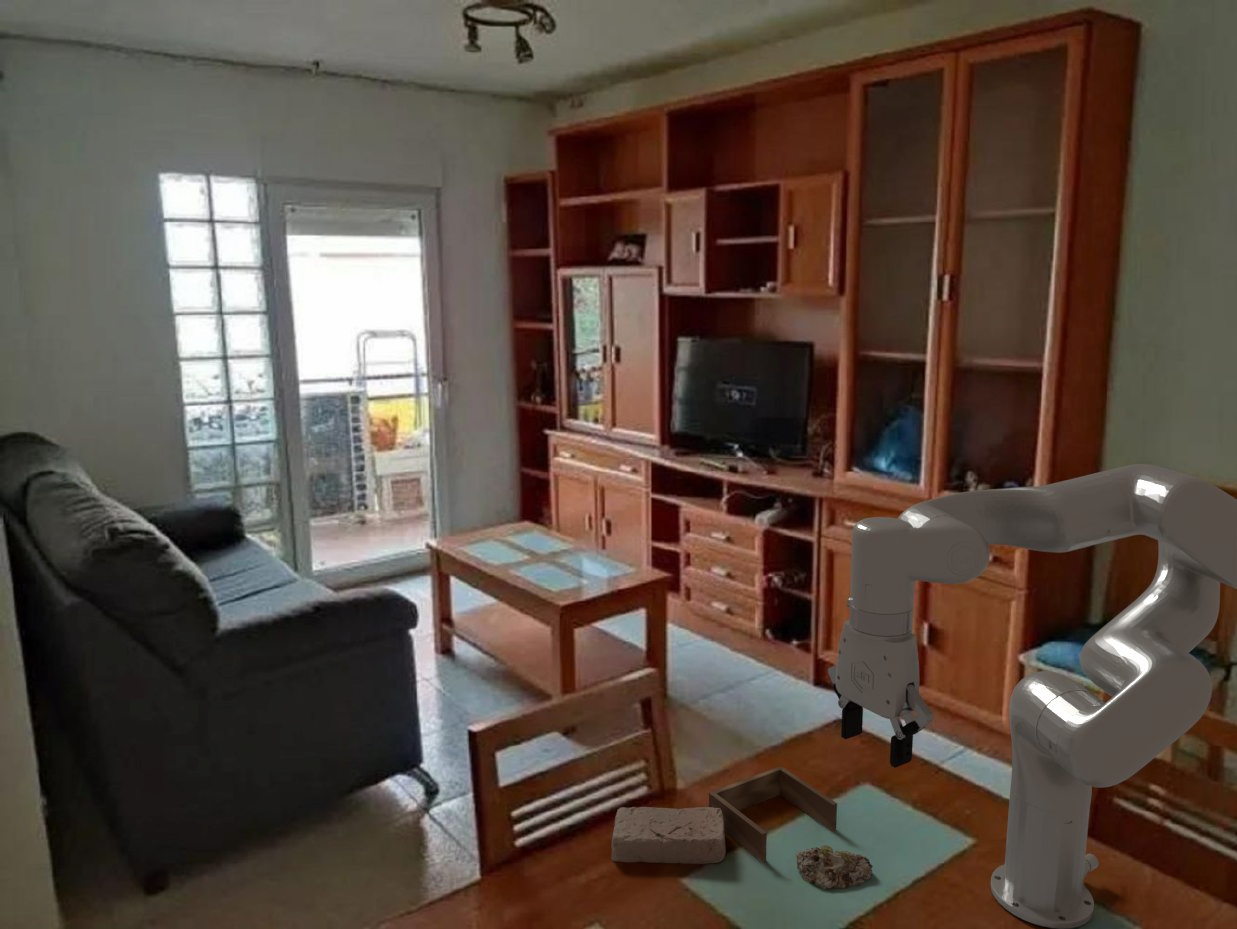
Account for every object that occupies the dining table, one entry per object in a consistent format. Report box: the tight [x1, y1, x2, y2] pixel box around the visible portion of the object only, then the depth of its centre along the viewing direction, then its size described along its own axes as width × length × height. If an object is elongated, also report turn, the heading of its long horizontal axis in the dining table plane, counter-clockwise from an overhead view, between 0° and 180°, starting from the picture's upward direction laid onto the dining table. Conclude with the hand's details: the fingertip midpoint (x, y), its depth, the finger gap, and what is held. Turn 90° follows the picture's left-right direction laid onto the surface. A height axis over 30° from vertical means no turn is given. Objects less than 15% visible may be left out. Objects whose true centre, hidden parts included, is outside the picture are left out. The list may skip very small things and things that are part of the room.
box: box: [708, 765, 838, 863], centre depth 139 cm, size 15×13×4 cm
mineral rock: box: [795, 844, 874, 890], centre depth 127 cm, size 11×4×8 cm
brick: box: [610, 806, 727, 865], centre depth 134 cm, size 17×8×5 cm, turn 86°
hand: (875, 748), depth 114 cm, fingers open, 7 cm apart
